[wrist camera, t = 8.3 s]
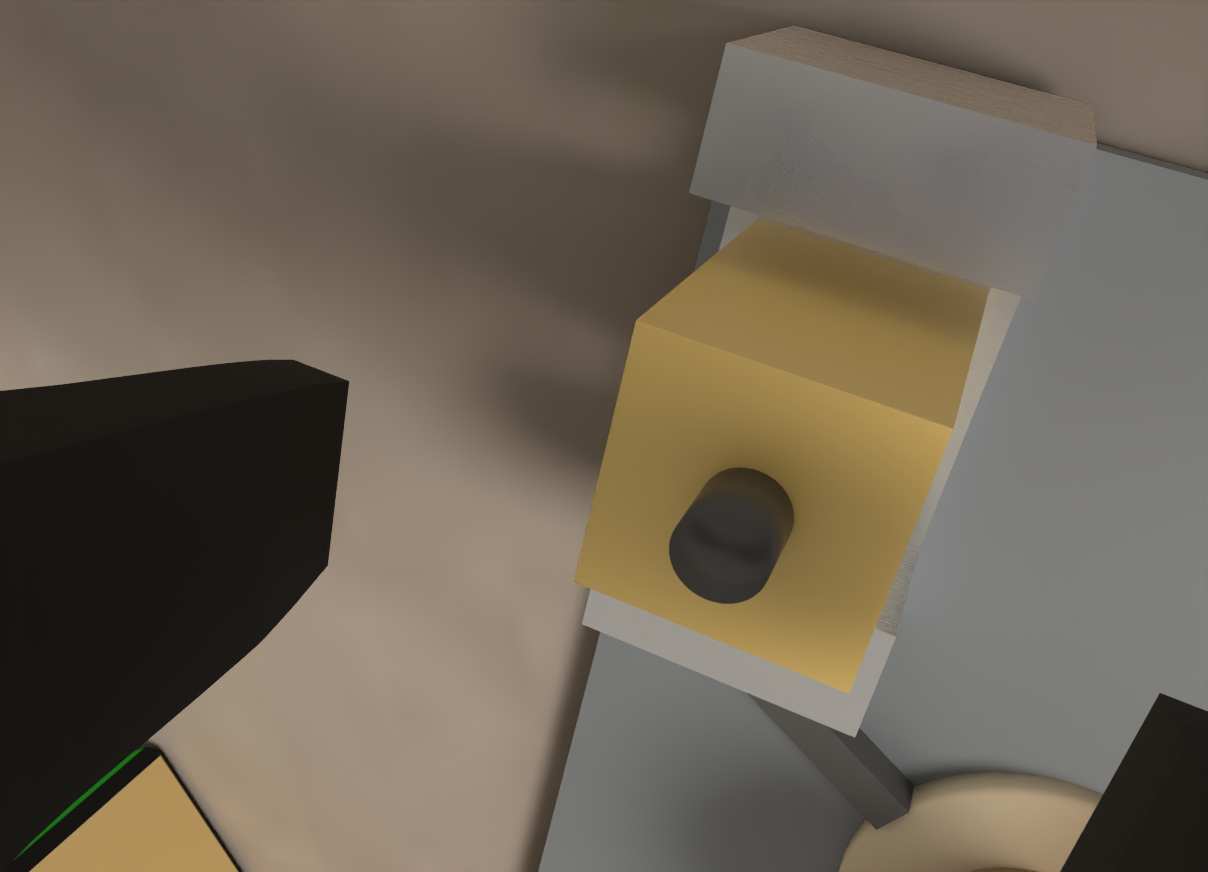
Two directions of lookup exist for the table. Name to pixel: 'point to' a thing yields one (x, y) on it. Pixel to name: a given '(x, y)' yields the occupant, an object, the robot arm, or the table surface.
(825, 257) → the yellow block with knob
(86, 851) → the puzzle cube
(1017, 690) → the board
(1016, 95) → the block
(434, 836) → the table surface
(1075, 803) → the bobbin
